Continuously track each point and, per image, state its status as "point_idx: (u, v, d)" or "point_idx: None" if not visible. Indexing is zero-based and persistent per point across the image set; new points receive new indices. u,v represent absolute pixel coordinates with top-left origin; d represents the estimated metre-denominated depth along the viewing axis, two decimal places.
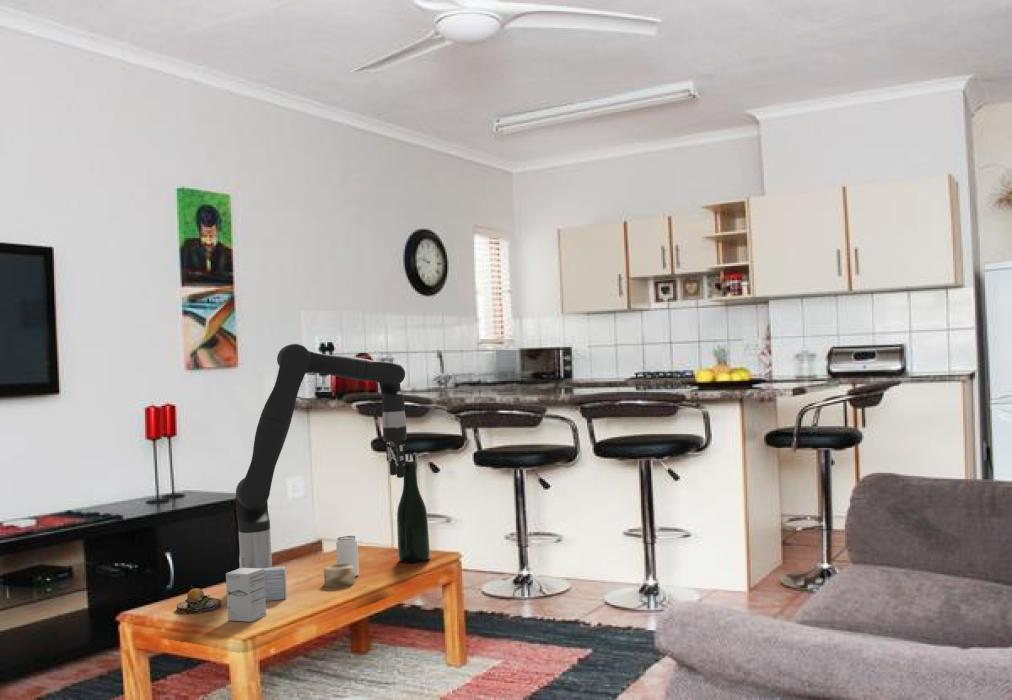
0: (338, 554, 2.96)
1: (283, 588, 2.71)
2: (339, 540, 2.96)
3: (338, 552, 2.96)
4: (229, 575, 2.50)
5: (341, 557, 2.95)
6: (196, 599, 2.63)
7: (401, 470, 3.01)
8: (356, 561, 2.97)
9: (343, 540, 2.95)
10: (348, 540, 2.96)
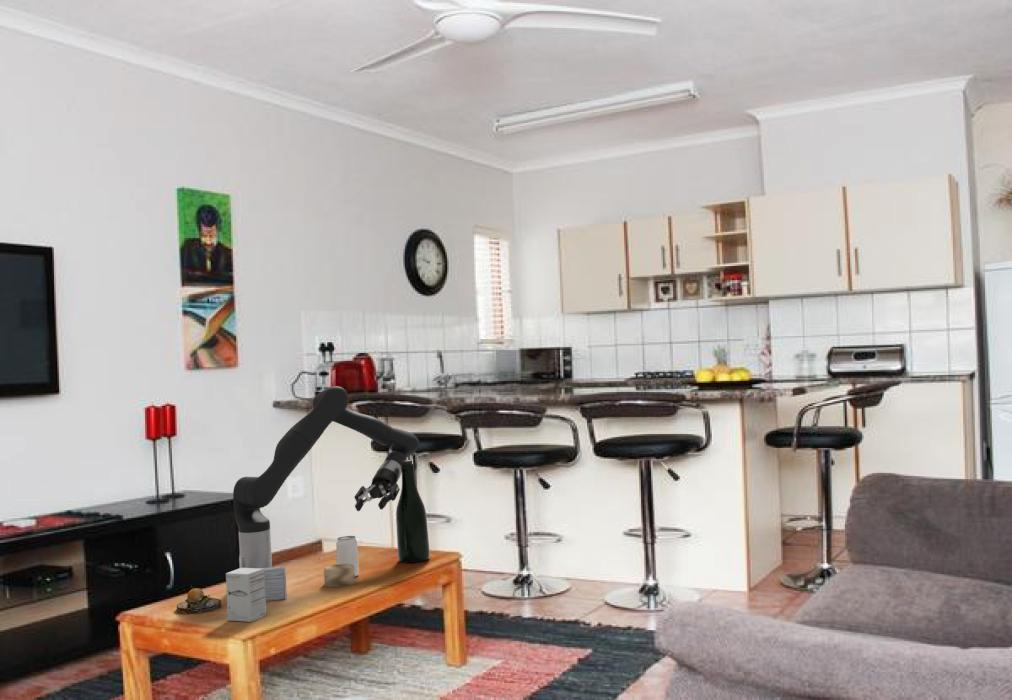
0: (338, 554, 2.96)
1: (283, 588, 2.71)
2: (339, 540, 2.96)
3: (338, 552, 2.96)
4: (229, 575, 2.50)
5: (341, 557, 2.95)
6: (196, 599, 2.63)
7: (385, 502, 3.05)
8: (356, 561, 2.97)
9: (343, 540, 2.95)
10: (348, 540, 2.96)
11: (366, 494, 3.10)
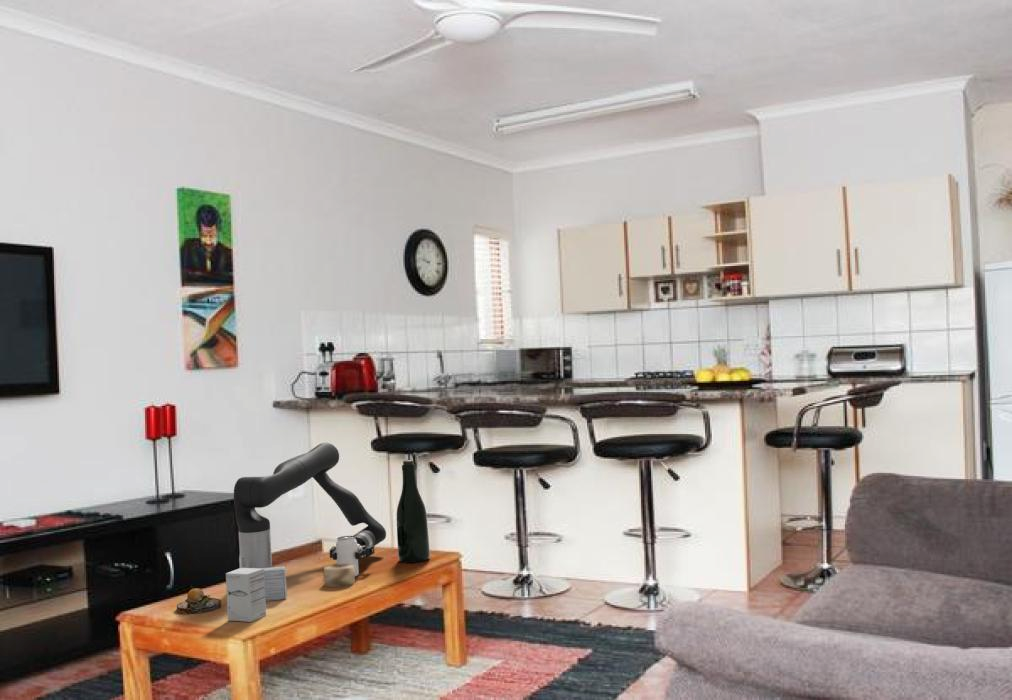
0: (338, 554, 2.96)
1: (283, 588, 2.71)
2: (339, 540, 2.96)
3: (338, 552, 2.96)
4: (229, 575, 2.50)
5: (341, 557, 2.95)
6: (196, 599, 2.63)
7: (361, 554, 2.98)
8: (356, 561, 2.97)
9: (343, 540, 2.95)
10: (348, 540, 2.96)
11: None
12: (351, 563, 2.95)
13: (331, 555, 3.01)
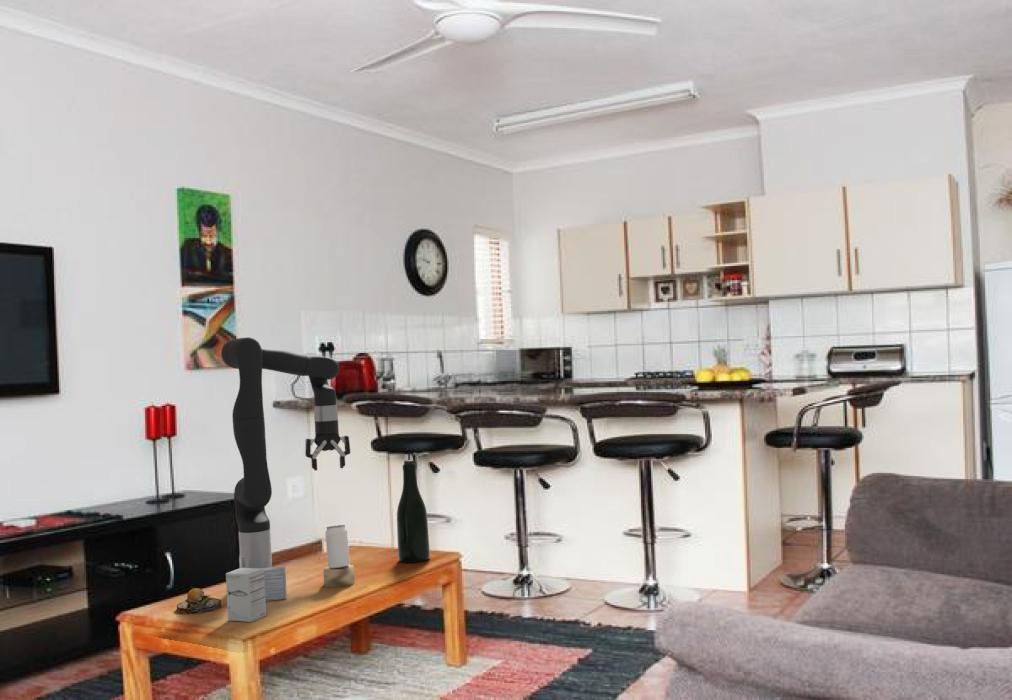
0: (329, 543, 2.86)
1: (283, 588, 2.71)
2: (329, 529, 2.87)
3: (329, 541, 2.86)
4: (229, 575, 2.50)
5: (333, 546, 2.85)
6: (196, 599, 2.63)
7: (344, 460, 3.14)
8: (348, 550, 2.88)
9: (334, 528, 2.86)
10: (339, 528, 2.87)
11: (319, 452, 3.10)
12: (343, 552, 2.86)
13: None
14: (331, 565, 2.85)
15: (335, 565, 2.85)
